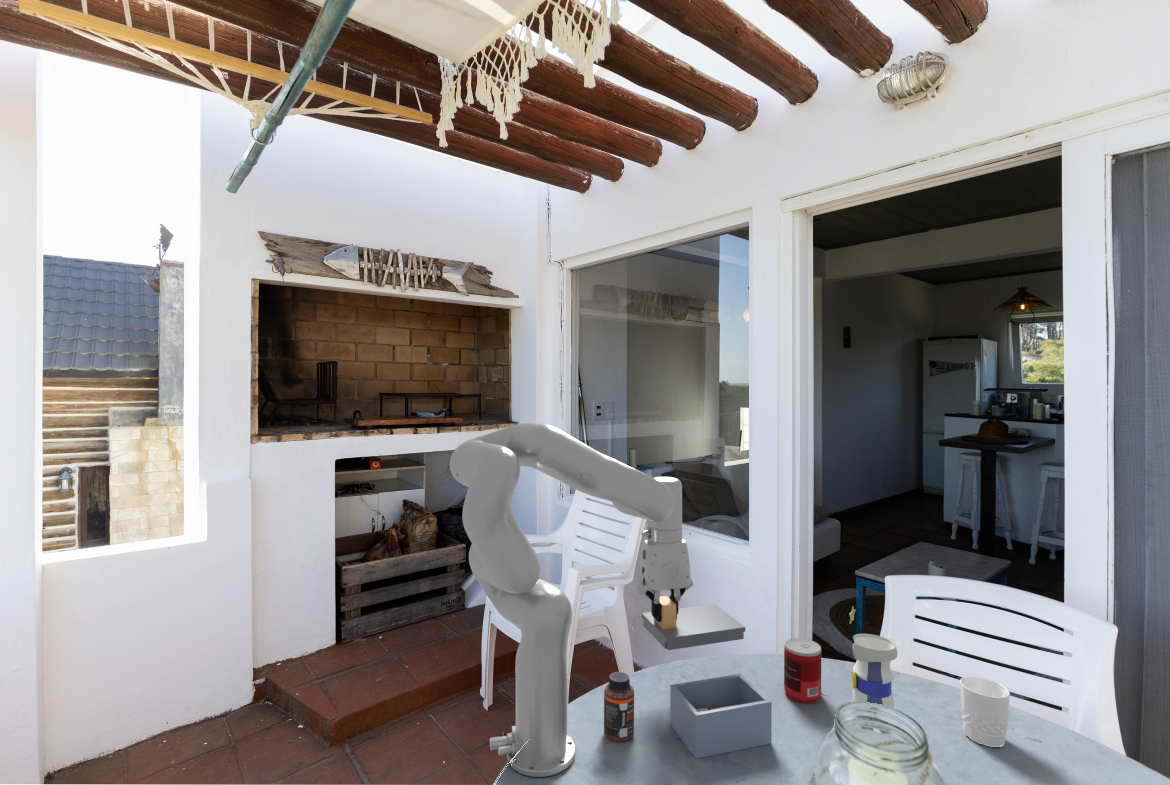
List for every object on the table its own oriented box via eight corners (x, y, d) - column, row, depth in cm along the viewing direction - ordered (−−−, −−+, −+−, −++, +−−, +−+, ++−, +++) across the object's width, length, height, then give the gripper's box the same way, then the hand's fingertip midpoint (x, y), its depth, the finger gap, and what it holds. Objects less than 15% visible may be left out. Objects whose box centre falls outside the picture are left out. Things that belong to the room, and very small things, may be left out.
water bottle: (849, 749, 106) (850, 617, 106) (847, 724, 114) (848, 601, 114) (899, 760, 103) (900, 624, 102) (893, 734, 111) (894, 607, 110)
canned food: (824, 691, 126) (824, 642, 126) (817, 708, 119) (817, 656, 119) (788, 681, 130) (788, 634, 130) (780, 697, 124) (780, 647, 124)
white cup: (965, 720, 115) (965, 672, 115) (1012, 737, 110) (1013, 686, 109) (955, 737, 110) (955, 686, 110) (1005, 756, 104) (1005, 702, 104)
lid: (666, 650, 115) (666, 614, 115) (641, 624, 128) (641, 591, 128) (745, 638, 121) (745, 603, 120) (713, 614, 133) (713, 583, 133)
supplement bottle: (632, 745, 107) (632, 686, 107) (601, 741, 108) (601, 682, 108) (635, 726, 113) (635, 670, 113) (606, 723, 114) (606, 667, 114)
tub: (695, 758, 103) (696, 715, 103) (670, 724, 114) (670, 685, 114) (771, 743, 108) (771, 701, 108) (739, 711, 118) (740, 673, 118)
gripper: (636, 542, 116) (636, 630, 117) (706, 535, 121) (707, 620, 121) (623, 533, 124) (623, 616, 124) (690, 527, 128) (690, 607, 128)
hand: (664, 617), depth 123 cm, fingers closed on lid, 3 cm apart
